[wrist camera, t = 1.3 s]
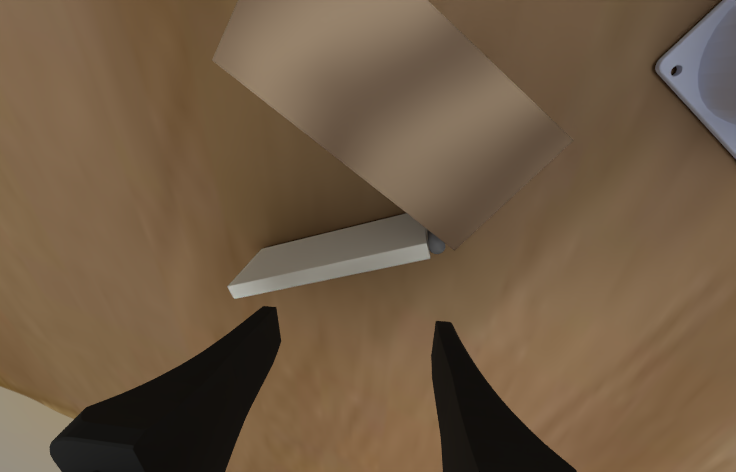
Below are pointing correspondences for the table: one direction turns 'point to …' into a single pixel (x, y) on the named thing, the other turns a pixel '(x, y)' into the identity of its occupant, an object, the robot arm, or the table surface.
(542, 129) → the cabinet
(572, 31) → the table surface
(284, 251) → the door
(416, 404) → the table surface
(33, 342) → the table surface
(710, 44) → the robot arm
